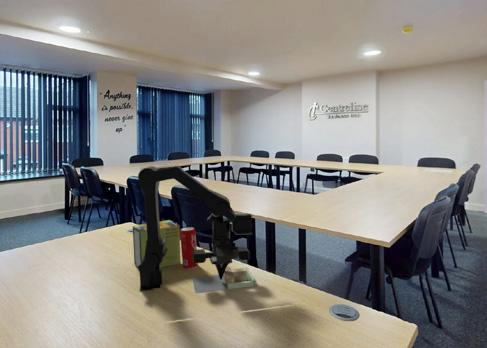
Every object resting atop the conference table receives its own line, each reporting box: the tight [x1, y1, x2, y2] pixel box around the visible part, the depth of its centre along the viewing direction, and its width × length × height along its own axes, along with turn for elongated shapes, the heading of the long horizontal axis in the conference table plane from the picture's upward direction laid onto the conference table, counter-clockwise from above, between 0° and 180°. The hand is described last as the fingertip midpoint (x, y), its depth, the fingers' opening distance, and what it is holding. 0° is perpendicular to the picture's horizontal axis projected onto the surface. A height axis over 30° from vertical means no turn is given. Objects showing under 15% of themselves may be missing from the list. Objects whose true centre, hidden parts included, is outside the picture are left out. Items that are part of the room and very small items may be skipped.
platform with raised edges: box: [192, 267, 258, 294], centre depth 113 cm, size 20×12×2 cm, turn 104°
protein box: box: [132, 219, 181, 269], centre depth 129 cm, size 10×15×16 cm
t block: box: [223, 265, 247, 286], centre depth 114 cm, size 7×8×4 cm
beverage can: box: [180, 226, 199, 270], centre depth 126 cm, size 6×6×15 cm
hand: (220, 279), depth 113 cm, fingers closed
